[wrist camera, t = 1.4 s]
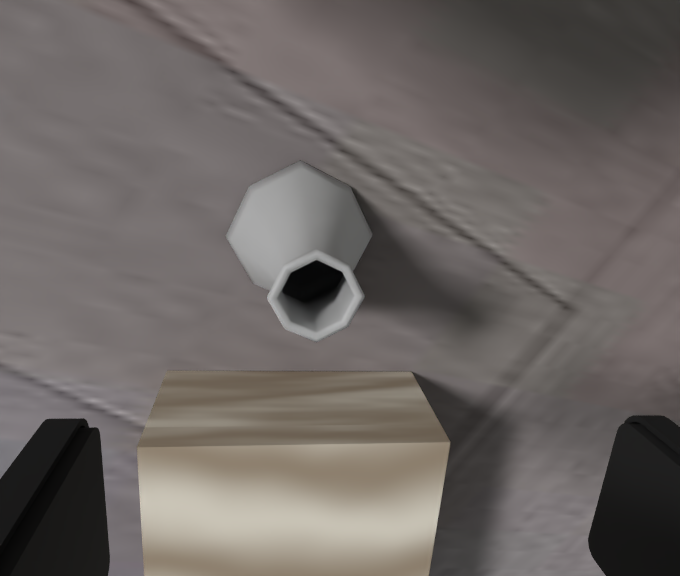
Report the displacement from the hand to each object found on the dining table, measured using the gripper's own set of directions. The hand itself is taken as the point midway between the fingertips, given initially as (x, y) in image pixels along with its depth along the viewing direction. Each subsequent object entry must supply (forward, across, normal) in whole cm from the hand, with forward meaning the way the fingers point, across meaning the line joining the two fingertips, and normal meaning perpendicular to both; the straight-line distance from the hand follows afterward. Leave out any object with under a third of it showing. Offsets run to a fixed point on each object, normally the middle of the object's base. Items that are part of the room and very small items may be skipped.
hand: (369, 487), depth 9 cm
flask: (+20, 0, 0) cm, 20 cm away
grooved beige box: (+19, 0, +15) cm, 24 cm away
